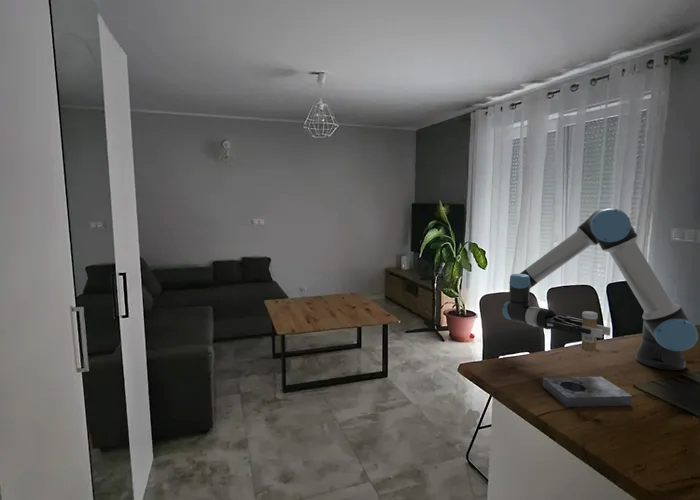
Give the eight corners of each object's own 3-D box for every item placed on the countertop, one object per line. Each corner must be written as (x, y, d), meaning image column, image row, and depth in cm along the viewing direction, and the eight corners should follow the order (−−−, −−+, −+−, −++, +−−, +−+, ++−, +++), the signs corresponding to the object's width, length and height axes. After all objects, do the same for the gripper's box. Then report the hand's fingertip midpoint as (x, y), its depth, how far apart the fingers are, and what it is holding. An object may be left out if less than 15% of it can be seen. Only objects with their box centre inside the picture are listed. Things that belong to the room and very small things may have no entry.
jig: (601, 385, 132) (601, 376, 132) (631, 405, 118) (632, 396, 118) (542, 386, 132) (542, 377, 131) (566, 406, 118) (566, 397, 118)
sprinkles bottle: (598, 350, 136) (600, 312, 135) (592, 353, 134) (593, 314, 133) (584, 346, 140) (586, 310, 139) (578, 349, 138) (579, 312, 137)
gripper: (553, 323, 157) (618, 338, 137) (527, 331, 148) (591, 348, 128) (554, 305, 156) (619, 317, 136) (527, 311, 147) (592, 326, 127)
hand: (605, 332), depth 132 cm, fingers closed on sprinkles bottle, 4 cm apart
